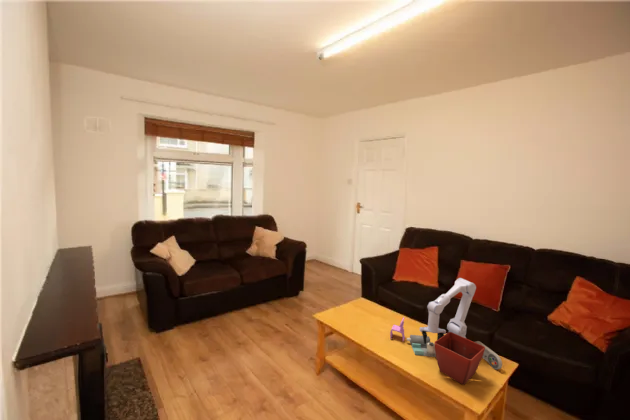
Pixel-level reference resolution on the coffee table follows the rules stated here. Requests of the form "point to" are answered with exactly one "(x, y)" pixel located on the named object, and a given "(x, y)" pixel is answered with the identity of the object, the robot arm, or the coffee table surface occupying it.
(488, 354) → the game controller
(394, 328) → the toy chair
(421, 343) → the motor assembly
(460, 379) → the plant pot
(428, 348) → the cream canister
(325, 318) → the coffee table surface
